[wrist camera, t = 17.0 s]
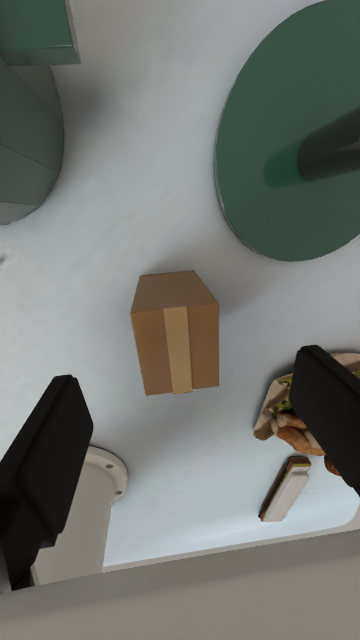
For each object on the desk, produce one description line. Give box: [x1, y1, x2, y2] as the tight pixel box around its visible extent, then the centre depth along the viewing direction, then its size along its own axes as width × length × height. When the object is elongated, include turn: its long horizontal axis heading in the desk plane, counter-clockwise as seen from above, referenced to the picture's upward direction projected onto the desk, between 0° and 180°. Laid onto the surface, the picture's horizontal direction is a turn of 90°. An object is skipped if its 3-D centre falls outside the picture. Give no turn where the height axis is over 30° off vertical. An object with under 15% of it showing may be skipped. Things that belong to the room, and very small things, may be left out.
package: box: [130, 271, 219, 396], centre depth 16 cm, size 6×5×8 cm
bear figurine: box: [253, 351, 360, 476], centre depth 21 cm, size 14×15×12 cm
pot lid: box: [214, 0, 360, 262], centre depth 13 cm, size 14×14×6 cm
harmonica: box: [258, 457, 311, 522], centre depth 33 cm, size 15×3×2 cm, turn 171°
